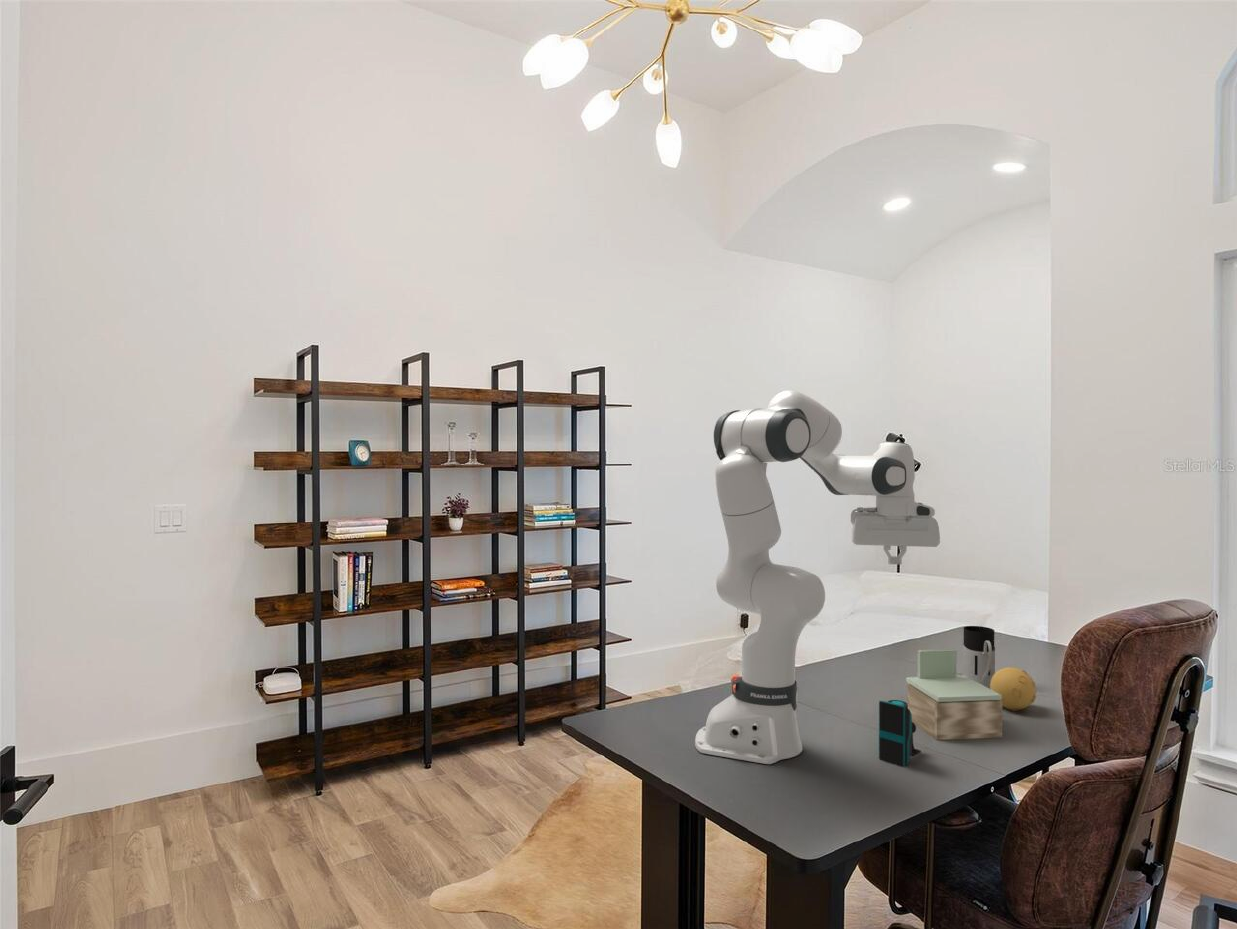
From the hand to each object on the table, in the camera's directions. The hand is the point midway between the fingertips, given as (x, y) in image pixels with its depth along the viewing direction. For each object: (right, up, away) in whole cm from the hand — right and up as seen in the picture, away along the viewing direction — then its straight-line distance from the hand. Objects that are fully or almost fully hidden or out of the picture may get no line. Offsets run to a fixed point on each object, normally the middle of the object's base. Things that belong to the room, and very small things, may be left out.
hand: (894, 564), depth 180 cm
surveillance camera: (-9, -36, -29) cm, 47 cm away
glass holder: (+29, -35, +15) cm, 48 cm away
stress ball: (+28, -35, -1) cm, 45 cm away
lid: (+8, -27, -13) cm, 31 cm away
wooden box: (+8, -35, -13) cm, 39 cm away
